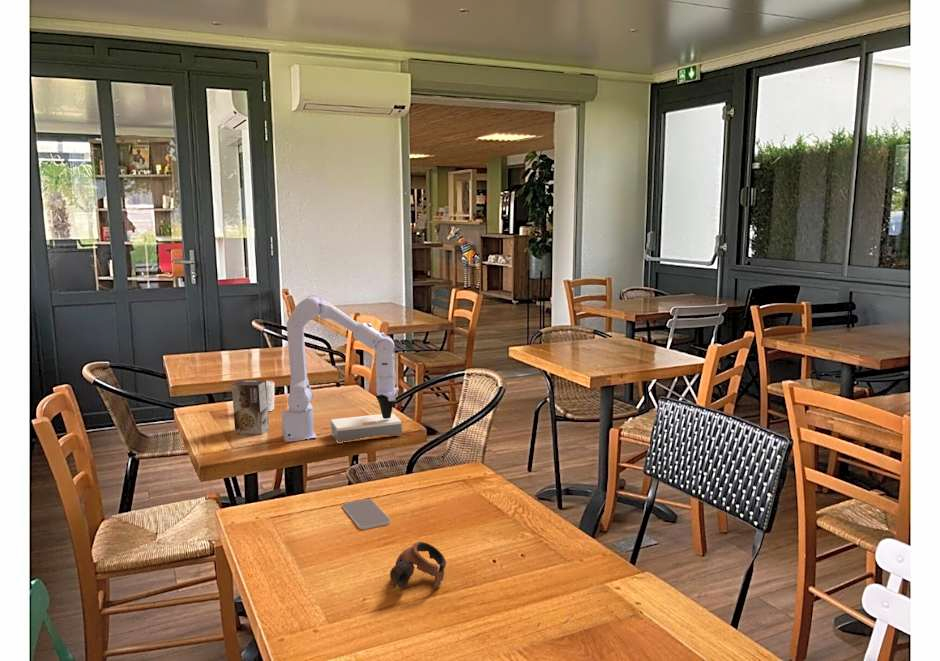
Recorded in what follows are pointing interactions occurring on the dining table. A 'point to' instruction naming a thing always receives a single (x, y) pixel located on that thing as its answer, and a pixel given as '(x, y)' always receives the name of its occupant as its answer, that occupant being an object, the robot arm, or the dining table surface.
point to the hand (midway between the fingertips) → (386, 418)
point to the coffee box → (250, 406)
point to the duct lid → (364, 422)
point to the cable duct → (366, 432)
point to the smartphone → (366, 514)
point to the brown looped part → (412, 556)
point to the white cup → (270, 395)
